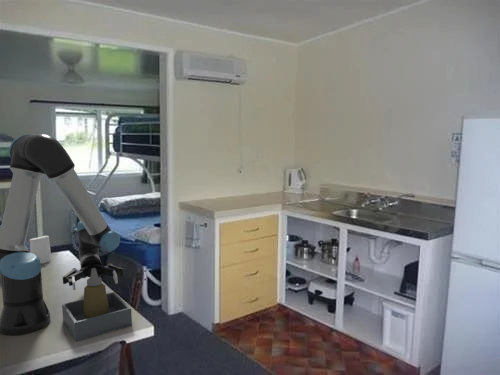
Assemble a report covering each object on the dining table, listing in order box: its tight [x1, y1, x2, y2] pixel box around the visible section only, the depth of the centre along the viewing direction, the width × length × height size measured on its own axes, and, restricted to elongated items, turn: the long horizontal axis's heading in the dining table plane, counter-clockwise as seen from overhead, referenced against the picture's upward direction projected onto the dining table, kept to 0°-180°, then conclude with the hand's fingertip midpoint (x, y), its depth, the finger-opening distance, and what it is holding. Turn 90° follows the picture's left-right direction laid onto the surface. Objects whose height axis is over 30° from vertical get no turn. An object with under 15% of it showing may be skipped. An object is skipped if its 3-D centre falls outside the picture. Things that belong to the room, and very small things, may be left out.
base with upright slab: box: [29, 235, 52, 264], centre depth 207 cm, size 9×9×12 cm
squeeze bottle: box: [83, 268, 109, 319], centre depth 137 cm, size 8×8×18 cm
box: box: [61, 291, 133, 342], centre depth 138 cm, size 18×18×6 cm
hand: (95, 283), depth 141 cm, fingers open, 13 cm apart
